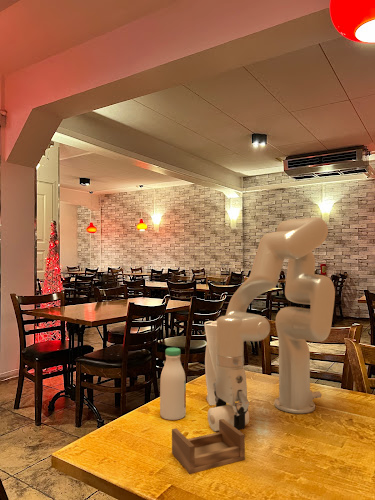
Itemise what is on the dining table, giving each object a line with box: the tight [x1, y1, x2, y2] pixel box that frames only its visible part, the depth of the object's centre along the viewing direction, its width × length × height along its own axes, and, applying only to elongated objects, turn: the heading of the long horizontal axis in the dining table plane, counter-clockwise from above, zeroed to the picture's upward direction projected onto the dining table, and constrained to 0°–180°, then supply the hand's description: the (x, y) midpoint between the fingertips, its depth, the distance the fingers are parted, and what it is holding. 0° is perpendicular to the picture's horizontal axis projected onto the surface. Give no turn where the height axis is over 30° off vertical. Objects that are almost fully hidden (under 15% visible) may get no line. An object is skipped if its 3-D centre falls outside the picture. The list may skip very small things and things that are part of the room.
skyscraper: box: [203, 319, 217, 406], centre depth 129 cm, size 8×8×28 cm
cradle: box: [171, 419, 246, 475], centre depth 94 cm, size 14×10×6 cm
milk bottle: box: [159, 347, 187, 421], centre depth 118 cm, size 8×8×20 cm
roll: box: [207, 404, 250, 432], centre depth 110 cm, size 10×6×6 cm, turn 115°
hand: (229, 422), depth 109 cm, fingers open, 9 cm apart
